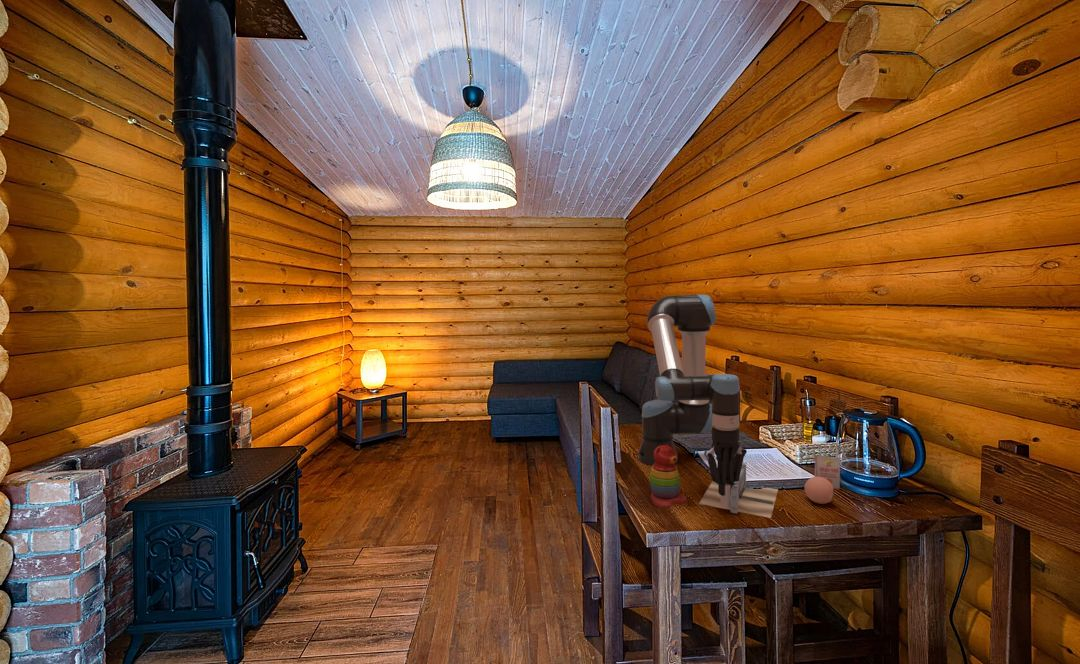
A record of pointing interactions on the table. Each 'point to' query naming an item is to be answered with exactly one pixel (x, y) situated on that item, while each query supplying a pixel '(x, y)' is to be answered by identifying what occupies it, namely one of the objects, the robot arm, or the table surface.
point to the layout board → (744, 500)
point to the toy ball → (819, 490)
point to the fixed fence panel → (742, 478)
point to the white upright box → (828, 469)
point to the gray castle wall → (735, 498)
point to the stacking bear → (665, 478)
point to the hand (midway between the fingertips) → (725, 505)
